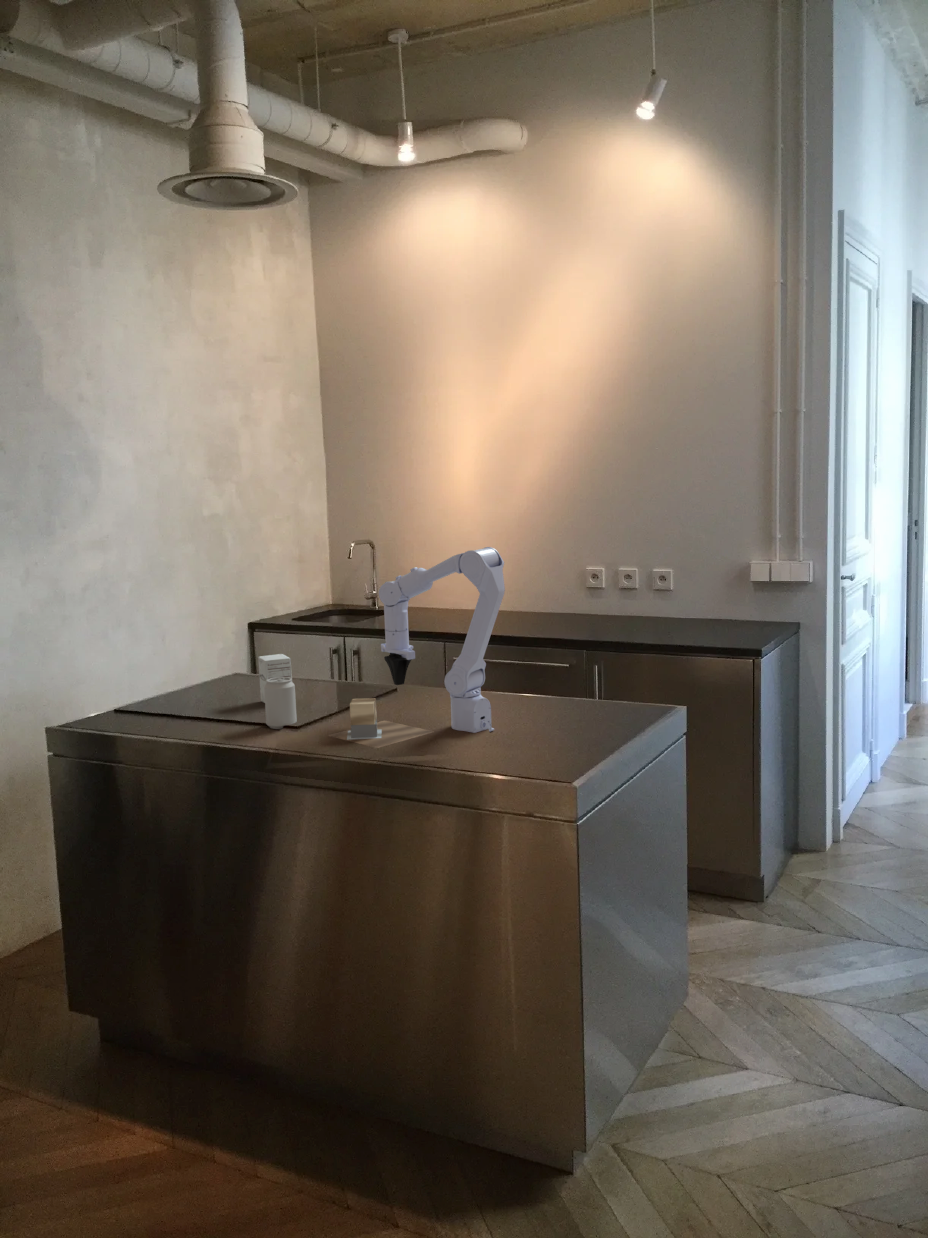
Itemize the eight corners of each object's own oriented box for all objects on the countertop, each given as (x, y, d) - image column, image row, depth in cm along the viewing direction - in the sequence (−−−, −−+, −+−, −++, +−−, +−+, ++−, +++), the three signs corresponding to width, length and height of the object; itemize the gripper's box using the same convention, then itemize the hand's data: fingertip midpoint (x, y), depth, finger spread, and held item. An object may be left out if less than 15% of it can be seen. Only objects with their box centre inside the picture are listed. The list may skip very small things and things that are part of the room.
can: (260, 728, 272) (257, 680, 270) (278, 721, 278) (276, 674, 276) (284, 731, 268) (282, 683, 266) (303, 723, 275) (300, 676, 273)
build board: (435, 735, 259) (435, 731, 259) (377, 752, 246) (377, 748, 246) (385, 724, 271) (384, 720, 271) (327, 739, 259) (327, 735, 259)
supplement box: (260, 701, 302) (257, 656, 300) (286, 698, 305) (283, 653, 303) (267, 706, 295) (264, 660, 293) (294, 703, 298) (291, 657, 296)
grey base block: (377, 737, 256) (376, 724, 255) (351, 738, 255) (350, 725, 255) (377, 730, 262) (376, 718, 261) (352, 731, 261) (351, 719, 261)
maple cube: (374, 724, 255) (373, 703, 254) (350, 725, 255) (349, 704, 254) (376, 718, 261) (375, 698, 260) (353, 719, 261) (352, 698, 260)
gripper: (425, 631, 264) (427, 686, 266) (397, 624, 276) (400, 677, 278) (399, 634, 260) (401, 691, 263) (372, 627, 273) (374, 681, 275)
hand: (399, 684), depth 270 cm, fingers closed
